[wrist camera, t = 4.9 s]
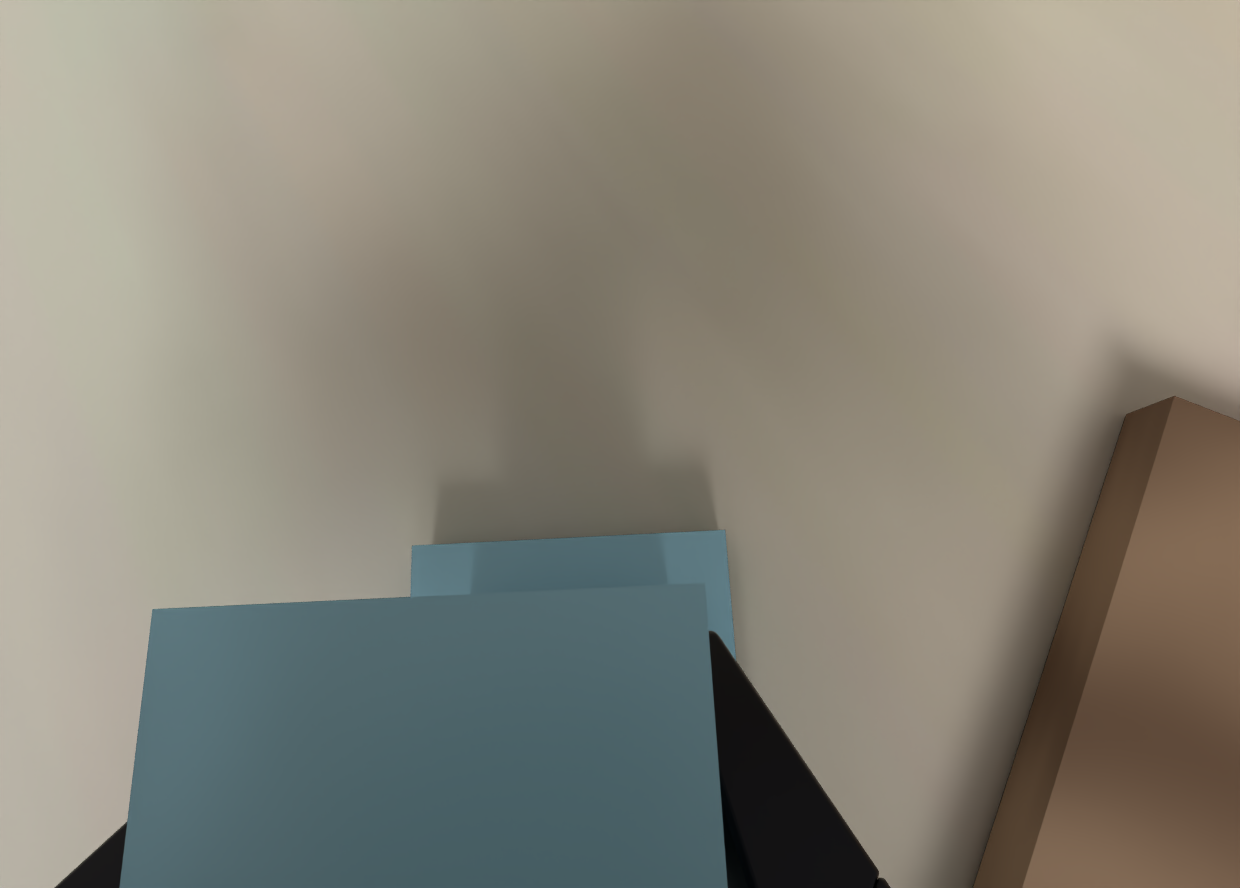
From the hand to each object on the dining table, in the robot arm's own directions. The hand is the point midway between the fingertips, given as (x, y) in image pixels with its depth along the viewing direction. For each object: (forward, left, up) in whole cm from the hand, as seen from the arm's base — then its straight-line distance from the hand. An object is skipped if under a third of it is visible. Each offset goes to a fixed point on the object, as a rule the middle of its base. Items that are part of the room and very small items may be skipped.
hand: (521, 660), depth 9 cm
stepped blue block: (-1, -1, -7) cm, 7 cm away
